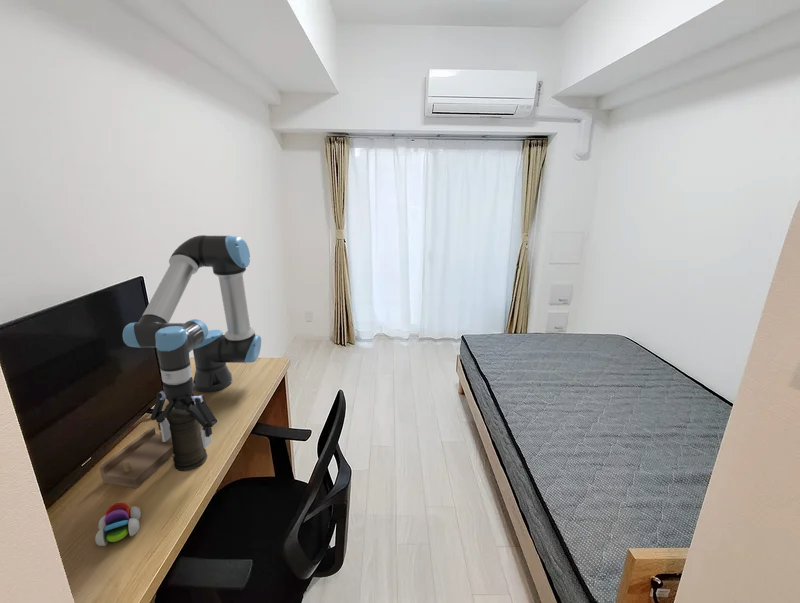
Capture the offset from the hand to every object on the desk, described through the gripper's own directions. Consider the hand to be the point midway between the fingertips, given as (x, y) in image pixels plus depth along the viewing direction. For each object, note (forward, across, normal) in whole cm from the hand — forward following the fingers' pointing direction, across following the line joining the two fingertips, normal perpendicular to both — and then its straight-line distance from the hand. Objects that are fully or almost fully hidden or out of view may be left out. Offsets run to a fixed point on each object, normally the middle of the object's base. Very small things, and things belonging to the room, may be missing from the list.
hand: (187, 442), depth 116 cm
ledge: (+7, -13, -3) cm, 15 cm away
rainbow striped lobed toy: (+8, 0, -25) cm, 26 cm away
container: (+8, 0, 0) cm, 8 cm away
